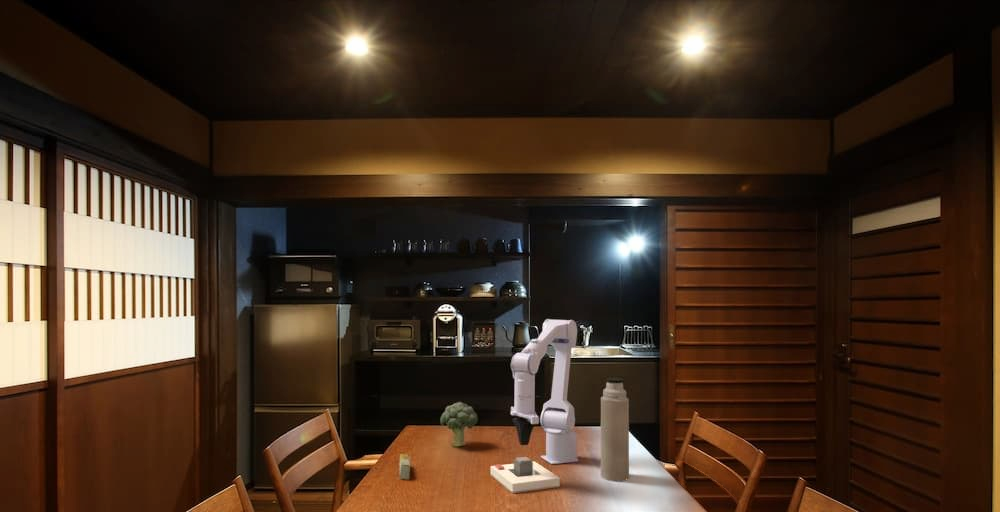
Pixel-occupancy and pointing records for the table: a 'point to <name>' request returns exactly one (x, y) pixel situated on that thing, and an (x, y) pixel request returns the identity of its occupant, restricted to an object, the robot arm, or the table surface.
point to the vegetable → (459, 420)
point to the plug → (523, 467)
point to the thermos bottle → (614, 431)
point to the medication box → (404, 466)
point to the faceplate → (524, 478)
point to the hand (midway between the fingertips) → (524, 444)
